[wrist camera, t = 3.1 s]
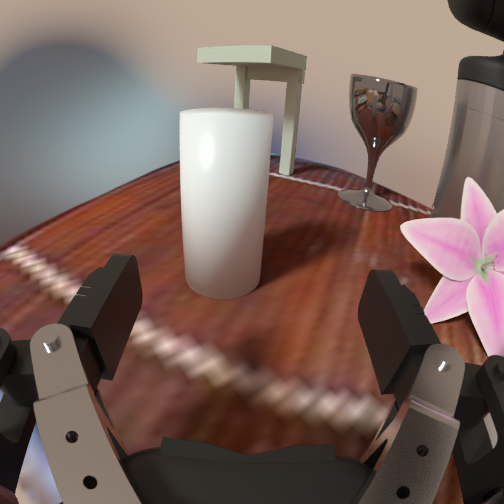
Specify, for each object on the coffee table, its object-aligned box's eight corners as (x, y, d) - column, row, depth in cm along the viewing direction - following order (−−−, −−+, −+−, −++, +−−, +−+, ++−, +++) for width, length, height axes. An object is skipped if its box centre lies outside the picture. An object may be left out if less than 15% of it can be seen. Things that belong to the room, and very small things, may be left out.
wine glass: (321, 191, 38) (336, 71, 30) (362, 185, 42) (378, 81, 34) (368, 217, 32) (392, 79, 25) (406, 208, 36) (429, 92, 28)
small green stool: (295, 173, 44) (306, 56, 35) (261, 191, 36) (271, 45, 28) (236, 160, 48) (242, 53, 39) (195, 175, 41) (197, 48, 32)
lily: (367, 279, 24) (387, 201, 16) (457, 219, 26) (490, 144, 18) (447, 399, 18) (517, 374, 10) (530, 314, 19) (592, 259, 11)
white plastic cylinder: (273, 270, 23) (288, 114, 17) (233, 310, 19) (240, 120, 13) (214, 248, 25) (217, 106, 19) (170, 279, 21) (160, 114, 15)
